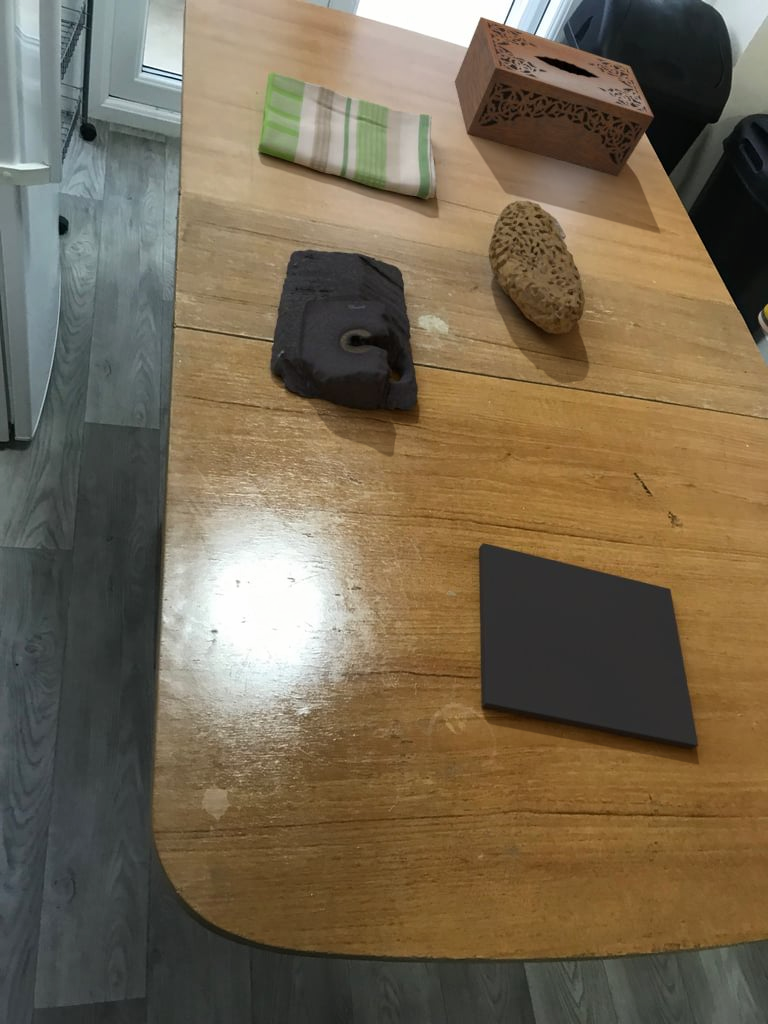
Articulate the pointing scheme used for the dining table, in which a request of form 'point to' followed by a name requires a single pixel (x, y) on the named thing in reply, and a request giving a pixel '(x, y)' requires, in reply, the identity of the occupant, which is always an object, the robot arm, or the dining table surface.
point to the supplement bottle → (764, 318)
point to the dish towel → (348, 137)
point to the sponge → (536, 267)
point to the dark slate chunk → (344, 331)
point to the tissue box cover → (550, 98)
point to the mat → (581, 648)
